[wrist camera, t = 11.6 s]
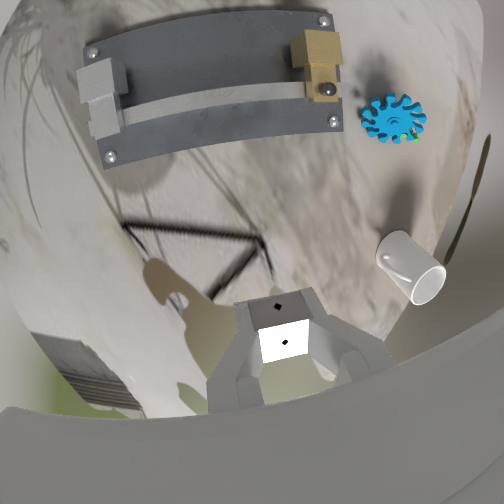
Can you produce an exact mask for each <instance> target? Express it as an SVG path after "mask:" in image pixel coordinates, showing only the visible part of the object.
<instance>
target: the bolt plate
mask: <svg viewBox="0 0 504 504" xmlns="http://www.w3.org/2000/svg"><path fill="white" fill-rule="evenodd" d="M303 30H319V31H330V32H335V29H334V22H333V16H332V14H328V13H319V12H307V11H289V10H253V11H235V12H223V13H214V14H206V15H199V16H193V17H187V18H181V19H176V20H171V21H166V22H162V23H158V24H154V25H150V26H146V27H142V28H138V29H135V30H132V31H128V32H125V33H122V34H119V35H116V36H113V37H110V38H107V39H105V40H102V41H99V42H97V43H94V44H91V45H89V46H87V47H84V48H83V55H84V65H85V67H86V66H88V65H91V64H93V63H96V62H99V61H101V60H104V59H107V58H110V57H111V58H113V59H115V60H118V61H120V62H122V63H124V64H125V71H126V78H127V85H128V91H129V93H127V94H124V95H120V96H119V99H120V105H121V110H123V109H127V108H130V107H133V106H137V105H141V104H144V103H148V102H152V101H156V100H160V99H165V98H169V97H174V96H178V95H183V94H188V93H194V92H199V91H205V90H211V89H218V88H225V87H233V86H242V85H252V84H264V83H281V82H306V81H305V71H304V68H293V65H292V57H291V49H290V41H289V39H291V38H292V37H294V36H295V35H297V34H298V33H300V32H302V31H303ZM335 67H336V77H337V82H341V81H340V70H339V65H337V66H335ZM124 127H125V131H123V132H120V133H117V134H113V135H110V136H107V137H104V138H101V139H98V140H97V143H98V147H99V152H100V156H101V160H102V164H103V168H104V170H106V169H109V168H112V167H116V166H119V165H123V164H127V163H130V162H134V161H138V160H142V159H146V158H150V157H154V156H158V155H163V154H167V153H172V152H176V151H181V150H186V149H191V148H196V147H202V146H207V145H213V144H219V143H225V142H232V141H238V140H246V139H253V138H262V137H270V136H280V135H291V134H304V133H320V132H343V110H342V98H338V102H307V98H288V99H272V100H260V101H250V102H241V103H233V104H226V105H219V106H212V107H206V108H201V109H195V110H190V111H185V112H180V113H175V114H170V115H166V116H162V117H157V118H153V119H149V120H145V121H142V122H138V123H134V124H131V125H127V126H124Z"/></svg>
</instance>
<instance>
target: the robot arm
mask: <svg viewBox="0 0 504 504" xmlns="http://www.w3.org/2000/svg"><path fill="white" fill-rule="evenodd" d="M234 310H235V315H236V322H237V327H238V333H239V335H235V336H234V338H233V340H232V341H231V343H230V345H229V346H228V348H227V349H226V351H225V353H224V355H223V356H222V358H221V359H220V361H219V363H218V364H217V366H216V367H215V369H214V371H213V372H212V374H211V376H210V377H209V379H208V380H207V382H206V386H207V399H208V411H209V414H205V415H196V416H185V417H171V418H150V419H111V418H89V417H78V416H68V415H59V414H51V413H45V412H38V411H32V410H27V409H22V408H18V407H7V408H6V409H5V410H3V411H2V412H1V413H0V504H504V307H503V308H501V309H500V310H498V311H497V312H495V313H494V314H492V315H491V316H489V317H487V318H486V319H484V320H483V321H481V322H479V323H478V324H476V325H475V326H473V327H471V328H469V329H468V330H466V331H464V332H462V333H461V334H459V335H457V336H455V337H453V338H451V339H449V340H448V341H446V342H444V343H442V344H440V345H438V346H436V347H434V348H432V349H430V350H428V351H426V352H424V353H421V354H419V355H417V356H415V357H413V358H411V359H408V360H406V361H404V362H401V363H399V364H396V363H395V361H394V359H393V358H392V356H391V354H390V353H389V351H388V349H387V348H386V346H385V345H384V343H383V341H382V340H380V339H378V338H376V337H374V336H373V335H371V334H369V333H367V332H365V331H363V330H361V329H359V328H357V327H355V326H353V325H351V324H349V323H347V322H345V321H343V320H341V319H339V318H337V317H336V316H334V315H332V314H330V315H327V313H326V311H325V309H324V307H323V306H322V304H321V302H320V300H319V298H318V296H317V295H316V293H315V291H314V289H313V288H312V287H309V288H305V289H301V290H299V291H293V292H289V293H284V294H279V295H275V296H269V297H264V298H258V299H252V300H247V301H242V302H235V303H234ZM303 353H308V354H309V355H310V356H311V357H313V358H314V359H315V360H317V361H318V362H319V363H320V364H322V365H323V366H324V367H326V368H327V369H328V370H330V371H331V372H332V373H334V374H335V375H336V376H337V379H336V383H335V387H333V388H330V389H327V390H324V391H320V392H317V393H313V394H309V395H306V396H302V397H298V398H294V399H290V400H286V401H281V402H277V403H272V404H267V405H264V401H263V397H262V393H261V389H260V385H259V380H258V378H259V375H260V373H261V370H262V368H263V365H264V362H268V361H273V360H277V359H281V358H285V357H289V356H294V355H298V354H303Z"/></svg>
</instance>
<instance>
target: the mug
mask: <svg viewBox="0 0 504 504" xmlns="http://www.w3.org/2000/svg"><path fill="white" fill-rule="evenodd" d="M376 262H377V264H378V265H379V266H380V267H381V268H382V269H384V270H385V271H386V272H387V274H388V275H389V276H390V277H391V278H392V279H393V280H394V282H395V283H396V284H397V285H398V286H399V287H400V288H401V290H402V291H403V292H404V293H405V294H406V296H407V297H408V298H409V299H410V300H411V301H412V302H413V304H415V305H422V304H424V303H427V302H428V301H430V300H431V299H432V298H433V297H434V296H435V295H436V294H437V293H438V292H439V290H440V289H441V287H442V286H443V284H444V281H445V278H446V271H445V268H444V267H443V266H442V265H441V264H440V263H439V262H438V261H436V260H435V259H434V258H433V257H432V256H431V255H430V254H429V253H428V252H426V251H425V250H424V249H423V248H422V247H421V246H420V245H418V244H417V243H416V242H415V241H414V240H413V239H411V238H410V236H409V235H408V234H407V233H406V232H404V231H401V230H398V231H394V232H392V233H390V234H388V235H387V236H386V237H385V238H384V239H383V240H382V241H381V243H380V244H379V246H378V249H377V252H376Z"/></svg>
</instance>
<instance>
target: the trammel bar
mask: <svg viewBox="0 0 504 504" xmlns="http://www.w3.org/2000/svg"><path fill="white" fill-rule="evenodd" d="M76 71H77V80H78V87H79V94H80V101H81V104H86V103H89V109H90V115H91V120H90V121H88V124H89V129H90V134H91V137H93V136H95V140H98V139H101V138H104V137H107V136H110V135H113V134H117V133H120V132H123V131H125V127H124V126H127V125H131V124H134V123H138V122H142V121H145V120H149V119H153V118H157V117H162V116H166V115H170V114H175V113H180V112H185V111H190V110H195V109H201V108H206V107H212V106H219V105H226V104H233V103H241V102H250V101H260V100H272V99H288V98H307V91H306V82H281V83H264V84H252V85H242V86H233V87H225V88H218V89H211V90H205V91H199V92H194V93H188V94H183V95H178V96H174V97H169V98H165V99H160V100H156V101H152V102H148V103H144V104H141V105H137V106H133V107H130V108H127V109H123V110H121V105H120V99H119V96H120V95H124V94H127V93H129V91H128V85H127V78H126V71H125V64H124V63H122V62H120V61H118V60H115V59H113V58H111V57H110V58H107V59H104V60H101V61H99V62H96V63H93V64H91V65H88V66H86V67H84V68H81V69H79V70H76ZM337 89H338V98H349V87H348V83H342V82H337Z"/></svg>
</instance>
